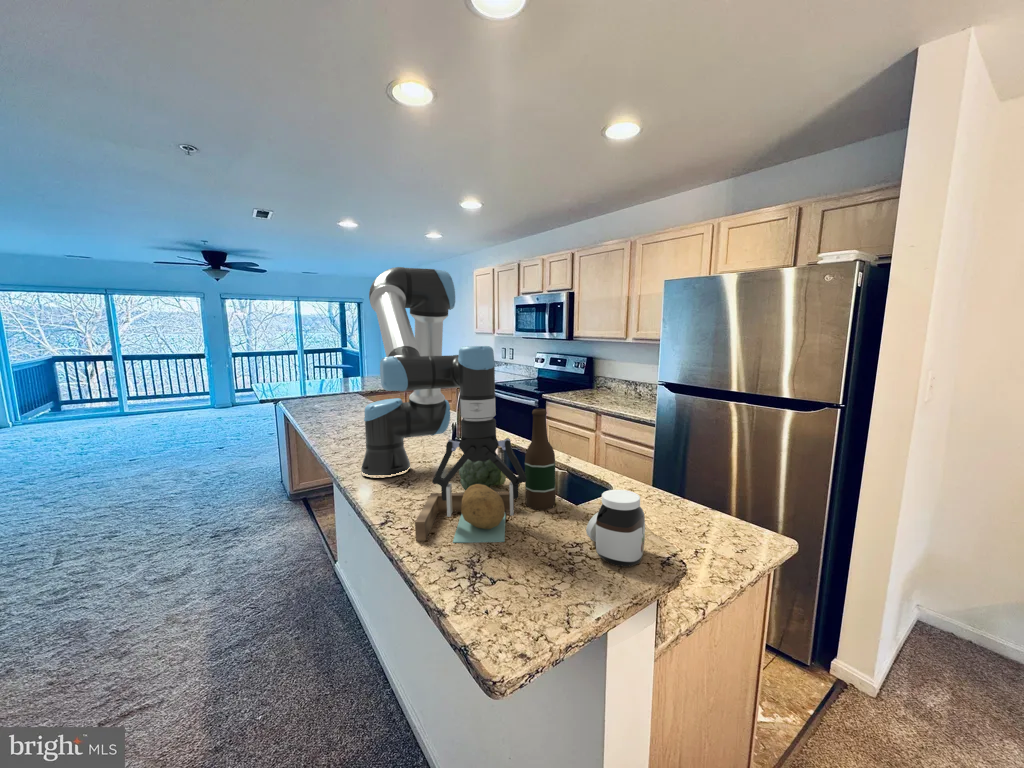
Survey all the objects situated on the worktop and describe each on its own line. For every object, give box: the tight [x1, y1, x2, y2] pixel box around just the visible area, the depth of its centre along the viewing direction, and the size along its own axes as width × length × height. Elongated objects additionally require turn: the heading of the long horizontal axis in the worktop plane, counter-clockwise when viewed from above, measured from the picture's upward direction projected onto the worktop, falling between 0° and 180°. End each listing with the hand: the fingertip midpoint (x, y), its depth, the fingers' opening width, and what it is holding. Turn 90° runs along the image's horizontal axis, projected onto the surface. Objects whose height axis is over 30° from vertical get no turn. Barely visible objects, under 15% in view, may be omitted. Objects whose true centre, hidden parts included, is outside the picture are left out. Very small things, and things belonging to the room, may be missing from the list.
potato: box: [461, 484, 506, 529], centre depth 88 cm, size 10×14×8 cm
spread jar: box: [585, 489, 646, 567], centre depth 76 cm, size 12×11×12 cm
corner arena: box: [414, 491, 516, 542], centre depth 90 cm, size 16×20×4 cm
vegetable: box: [458, 459, 507, 492], centre depth 110 cm, size 12×13×15 cm
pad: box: [452, 511, 507, 544], centre depth 88 cm, size 14×10×1 cm
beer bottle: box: [524, 408, 557, 511], centre depth 99 cm, size 8×8×24 cm
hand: (480, 513), depth 88 cm, fingers open, 13 cm apart
